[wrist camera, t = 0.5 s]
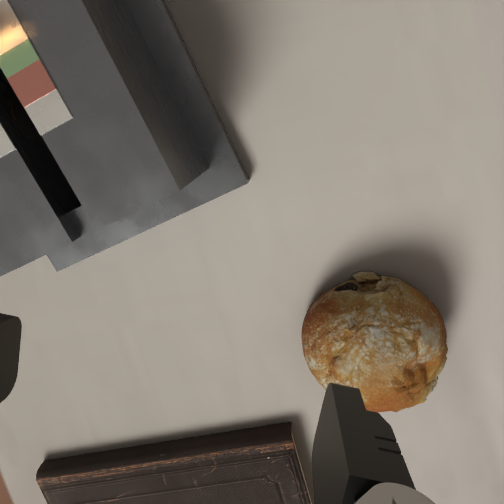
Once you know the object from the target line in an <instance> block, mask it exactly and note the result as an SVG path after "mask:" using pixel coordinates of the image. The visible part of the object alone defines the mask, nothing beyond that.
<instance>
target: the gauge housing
mask: <svg viewBox="0 0 504 504" xmlns="http://www.w3.org/2000/svg"><path fill="white" fill-rule="evenodd" d="M248 182H249V178H248V176H247V174H246V172H245V170H244V168H243V166H242V164H241V162H240V160H239V157H238V155H237V153H236V151H235V149H234V147H233V145H232V143H231V141H230V139H229V136H228V134H227V132H226V130H225V128H224V126H223V124H222V122H221V120H220V118H219V115H218V113H217V111H216V109H215V107H214V105H213V103H212V101H211V99H210V96H209V94H208V92H207V90H206V88H205V86H204V84H203V82H202V80H201V78H200V75H199V73H198V71H197V69H196V67H195V65H194V63H193V61H192V59H191V57H190V54H189V52H188V50H187V48H186V46H185V44H184V42H183V40H182V38H181V36H180V33H179V31H178V29H177V27H176V25H175V23H174V21H173V19H172V17H171V15H170V12H169V10H168V8H167V6H166V4H165V2H164V0H0V276H2V275H4V274H6V273H8V272H10V271H13V270H15V269H17V268H19V267H21V266H23V265H25V264H27V263H29V262H31V261H34V260H36V259H38V258H40V257H42V256H44V255H47V256H48V258H49V259H50V261H51V263H52V264H53V266H54V268H55V269H56V271H57V272H58V271H60V270H62V269H64V268H66V267H68V266H70V265H73V264H75V263H77V262H79V261H81V260H83V259H86V258H88V257H90V256H92V255H94V254H96V253H98V252H101V251H103V250H105V249H107V248H109V247H111V246H114V245H116V244H118V243H120V242H122V241H124V240H127V239H129V238H131V237H133V236H135V235H137V234H139V233H142V232H144V231H146V230H148V229H150V228H152V227H155V226H157V225H159V224H161V223H163V222H165V221H167V220H170V219H172V218H174V217H176V216H178V215H180V214H183V213H185V212H187V211H189V210H191V209H193V208H195V207H198V206H200V205H202V204H204V203H206V202H208V201H211V200H213V199H215V198H217V197H219V196H221V195H223V194H226V193H228V192H230V191H232V190H234V189H236V188H239V187H241V186H243V185H245V184H247V183H248Z"/></svg>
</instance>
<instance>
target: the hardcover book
mask: <svg viewBox="0 0 504 504" xmlns="http://www.w3.org/2000/svg"><path fill="white" fill-rule="evenodd" d="M291 426H292V423H291V422H286V423H280V424H273V425H267V426H261V427H254V428H248V429H242V430H235V431H229V432H223V433H217V434H210V435H204V436H198V437H191V438H185V439H179V440H172V441H166V442H160V443H154V444H147V445H141V446H135V447H128V448H122V449H116V450H109V451H103V452H97V453H91V454H84V455H78V456H72V457H65V458H59V459H53V460H47V461H44V462H43V463H42V464H41V466H40V467H39V469H38V471H37V474H36V481H37V483H38V485H39V487H40V489H41V491H42V493H43V495H44V497H45V499H46V501H47V503H48V504H312V502H311V498H310V495H309V491H308V488H307V484H306V481H305V477H304V474H303V470H302V467H301V463H300V460H299V456H298V453H297V449H296V445H295V442H294V438H293V435H292V431H291Z"/></svg>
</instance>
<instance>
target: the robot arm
mask: <svg viewBox="0 0 504 504" xmlns="http://www.w3.org/2000/svg"><path fill="white" fill-rule="evenodd" d="M21 327H22V326H21V321H20V319H19V318H18V317H16V316H11V315H6V314H1V313H0V403H1V402H2V401H3V400H4V399H5V398H6V397H7V396H8V395H9V394H10V392H11V391H12V389H13V387H14V384H15V382H16V378H17V373H18V362H19V351H20V340H21ZM312 474H313V486H314V498H315V504H435V503H434V502H433V501H432V500H430V499H429V498H428V497H427V496H425V495H424V494H422V493H420V492H419V491H417V490H416V489H415V487H414V484H413V481H412V479H411V476H410V474H409V471H408V469H407V466H406V463H405V461H404V458H403V456H402V455H401V451H400V448H399V446H398V443H396V438H395V435H394V433H393V430H392V428H391V426H390V425H389V424H388V423H387V422H386V421H385V420H384V418H383V417H382V416H381V415H380V414H379V413H377V412H373V411H368V410H366V408H365V405H364V402H363V398H362V395H361V392H360V389H359V388H354V387H350V386H345V385H340V384H335V383H329V384H328V386H327V389H326V392H325V397H324V401H323V405H322V409H321V413H320V417H319V421H318V426H317V430H316V434H315V438H314V443H313V451H312Z"/></svg>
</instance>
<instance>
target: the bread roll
mask: <svg viewBox="0 0 504 504" xmlns="http://www.w3.org/2000/svg"><path fill="white" fill-rule="evenodd" d="M352 278H353V279H351V280H350V281H346V282H344V283H341V284H339V285H337V286H335V287H333V288H332V289H331V290H330V291H327V292H324V293H323V294H322V295H321V296H320V297H319V298H318V299H317V300H315V301H314V302H313V303H312V304H311V305H310V307H309V309H308V311H307V313H306V316H305V318H304V322H303V326H302V345H303V352H304V356H305V359H306V362H307V364H308V366H309V369H310V371H311V372H312V374H313V375H314V376H315V378H316V380H317V381H318V382H319V383H320V384H321V385H322V386H323V387H324V388H325V390H326V389H327V386H328V384H329V383H335V384H340V385H345V386H350V387H354V388H359V389H360V392H361V395H362V398H363V402H364V405H365V408H366V410H368V411H373V412H385V411H394V412H398V411H399V410H402V409H405V408H409V407H412V406H415V405H417V404H420V403H424V402H425V401H426V397H427V396H428V394H430V393H431V392H432V391H433V389H434V387H435V386H436V384H437V380H438V375H439V374H440V372H441V371H442V369H443V367H444V365H445V362H446V360H447V357H446V354H447V351H448V348H447V344H446V337H447V336H446V329H445V326H444V322H443V319H442V316H441V315H440V313H439V310H438V309H437V308H436V306H435V305H434V304H433V303H432V302H431V301H430V300H428V299H427V298H426V297H425V296H424V295H423V294H422V293H421V292H419V291H418V290H417V289H415V288H413V287H412V286H410V285H409V284H407V283H406V282H404V281H402V280H400V279H398V278H395V277H387V276H383V275H382V276H381V277H379V276H377V275H376V274H375V273H374V272H372V271H365V272H358V273H356V274H353V275H352Z"/></svg>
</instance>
